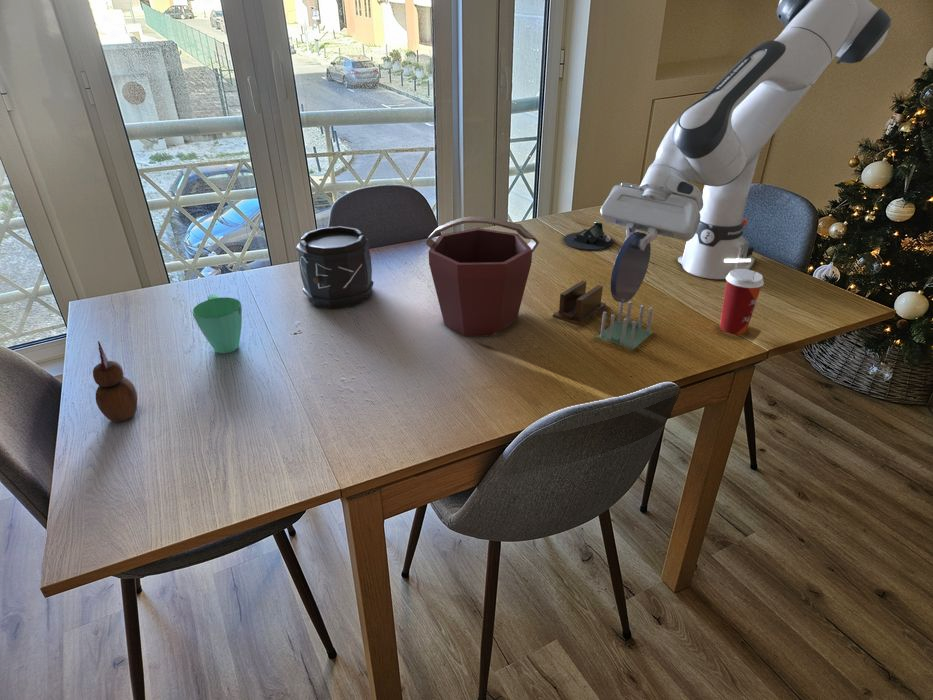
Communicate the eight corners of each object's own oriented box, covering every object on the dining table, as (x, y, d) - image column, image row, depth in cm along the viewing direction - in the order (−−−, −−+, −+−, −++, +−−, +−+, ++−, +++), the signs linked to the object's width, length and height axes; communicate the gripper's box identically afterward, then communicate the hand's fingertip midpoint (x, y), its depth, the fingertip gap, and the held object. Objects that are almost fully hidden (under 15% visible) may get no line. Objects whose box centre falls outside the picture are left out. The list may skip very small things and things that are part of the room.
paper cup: (753, 341, 135) (768, 283, 128) (716, 338, 137) (730, 280, 129) (746, 324, 142) (761, 268, 135) (712, 322, 143) (724, 266, 136)
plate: (640, 286, 138) (649, 222, 130) (645, 287, 137) (654, 224, 129) (607, 311, 128) (614, 245, 120) (612, 313, 127) (620, 246, 119)
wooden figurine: (114, 406, 117) (89, 337, 109) (146, 404, 117) (123, 335, 109) (99, 427, 111) (71, 357, 103) (132, 426, 111) (107, 355, 103)
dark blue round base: (601, 254, 180) (603, 236, 177) (555, 244, 187) (556, 227, 184) (620, 238, 191) (622, 221, 188) (575, 230, 198) (577, 213, 195)
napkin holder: (580, 301, 153) (583, 277, 150) (605, 309, 149) (608, 284, 146) (552, 320, 145) (554, 295, 141) (578, 329, 141) (580, 303, 138)
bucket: (544, 311, 149) (550, 210, 136) (511, 353, 132) (514, 243, 119) (453, 293, 158) (451, 198, 145) (411, 331, 141) (405, 227, 128)
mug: (253, 352, 133) (244, 311, 128) (206, 363, 129) (195, 322, 124) (242, 324, 144) (233, 285, 139) (197, 334, 141) (187, 294, 136)
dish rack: (616, 323, 143) (620, 296, 139) (652, 335, 138) (657, 307, 134) (595, 340, 136) (598, 312, 133) (632, 353, 131) (636, 324, 128)
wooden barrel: (288, 304, 153) (278, 245, 145) (328, 277, 168) (320, 221, 160) (350, 316, 147) (343, 255, 139) (386, 287, 162) (381, 230, 154)
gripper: (612, 172, 131) (584, 228, 129) (707, 190, 119) (677, 251, 118) (620, 188, 136) (593, 242, 134) (711, 207, 124) (682, 266, 123)
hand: (633, 247), depth 126 cm, fingers closed on plate, 1 cm apart
